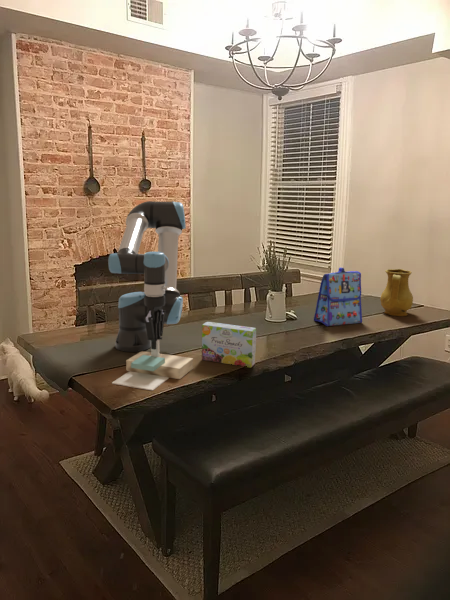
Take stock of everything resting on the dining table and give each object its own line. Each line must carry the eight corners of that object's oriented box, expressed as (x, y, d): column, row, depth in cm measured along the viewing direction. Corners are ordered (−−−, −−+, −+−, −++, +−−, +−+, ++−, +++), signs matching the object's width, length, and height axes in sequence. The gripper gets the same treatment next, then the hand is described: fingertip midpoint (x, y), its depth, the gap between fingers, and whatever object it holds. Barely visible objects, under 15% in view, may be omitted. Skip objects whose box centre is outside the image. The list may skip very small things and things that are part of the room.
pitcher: (419, 314, 282) (421, 269, 276) (397, 320, 272) (399, 274, 266) (393, 308, 296) (394, 266, 290) (372, 314, 286) (373, 270, 280)
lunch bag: (328, 327, 253) (331, 270, 247) (312, 320, 266) (316, 266, 259) (362, 323, 262) (367, 268, 256) (346, 316, 274) (350, 264, 268)
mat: (111, 383, 177) (111, 382, 177) (129, 372, 188) (129, 371, 188) (152, 390, 172) (152, 389, 172) (168, 378, 183) (168, 377, 183)
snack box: (200, 360, 202) (201, 324, 199) (206, 356, 207) (206, 320, 204) (251, 368, 195) (252, 330, 191) (255, 363, 200) (257, 326, 197)
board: (126, 370, 190) (126, 360, 189) (142, 360, 201) (141, 350, 200) (179, 379, 182) (179, 368, 181) (193, 368, 193) (193, 358, 192)
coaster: (131, 367, 182) (130, 363, 181) (143, 359, 190) (143, 354, 189) (153, 371, 179) (153, 366, 178) (165, 362, 187) (164, 358, 187)
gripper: (155, 299, 176) (156, 363, 182) (171, 292, 188) (172, 352, 194) (136, 297, 179) (137, 360, 184) (153, 290, 191) (154, 350, 196)
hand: (155, 356), depth 189 cm, fingers closed
